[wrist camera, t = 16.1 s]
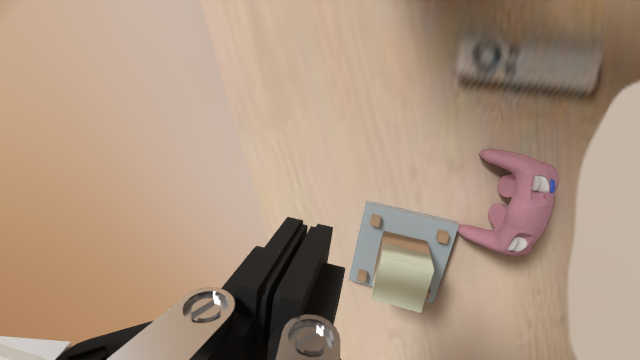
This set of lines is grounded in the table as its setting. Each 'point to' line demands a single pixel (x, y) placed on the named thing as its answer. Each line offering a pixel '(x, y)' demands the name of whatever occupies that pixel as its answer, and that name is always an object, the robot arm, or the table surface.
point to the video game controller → (517, 204)
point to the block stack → (402, 271)
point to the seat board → (407, 224)
